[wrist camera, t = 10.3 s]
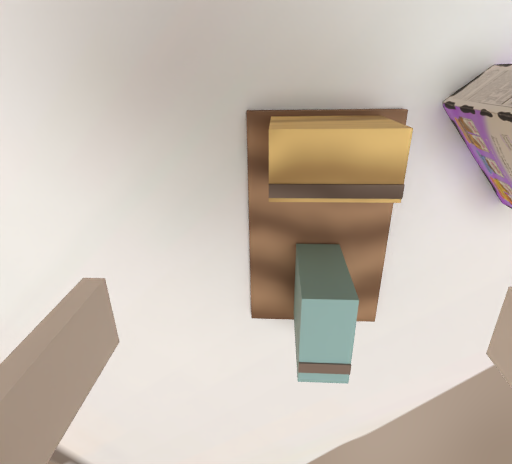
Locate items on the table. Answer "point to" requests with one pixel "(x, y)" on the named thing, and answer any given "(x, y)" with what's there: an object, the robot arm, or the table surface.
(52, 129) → the table surface
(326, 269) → the stub
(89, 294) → the robot arm
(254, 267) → the board
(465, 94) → the candy box
